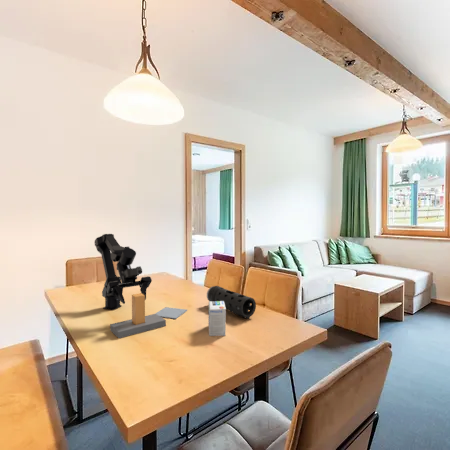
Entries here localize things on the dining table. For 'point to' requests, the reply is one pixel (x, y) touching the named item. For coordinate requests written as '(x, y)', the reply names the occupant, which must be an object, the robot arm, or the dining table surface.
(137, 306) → the plug
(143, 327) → the grey square-hole plate
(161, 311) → the mat
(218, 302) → the light bulb box
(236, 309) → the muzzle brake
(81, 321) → the dining table surface
